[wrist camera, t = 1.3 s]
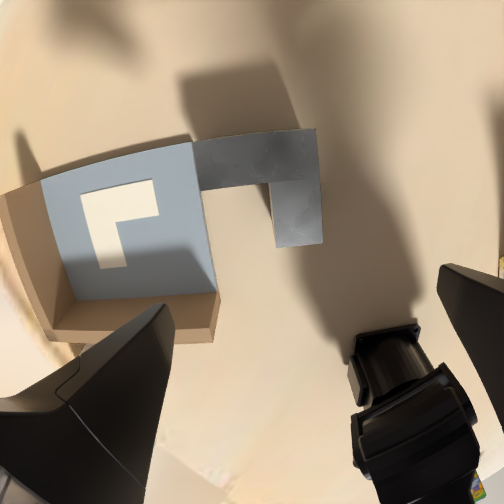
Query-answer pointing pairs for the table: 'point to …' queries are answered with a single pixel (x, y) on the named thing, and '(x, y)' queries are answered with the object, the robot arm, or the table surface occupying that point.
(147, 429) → the robot arm
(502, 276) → the candy box
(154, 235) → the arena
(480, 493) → the chalk box
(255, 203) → the table surface
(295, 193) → the bracket
